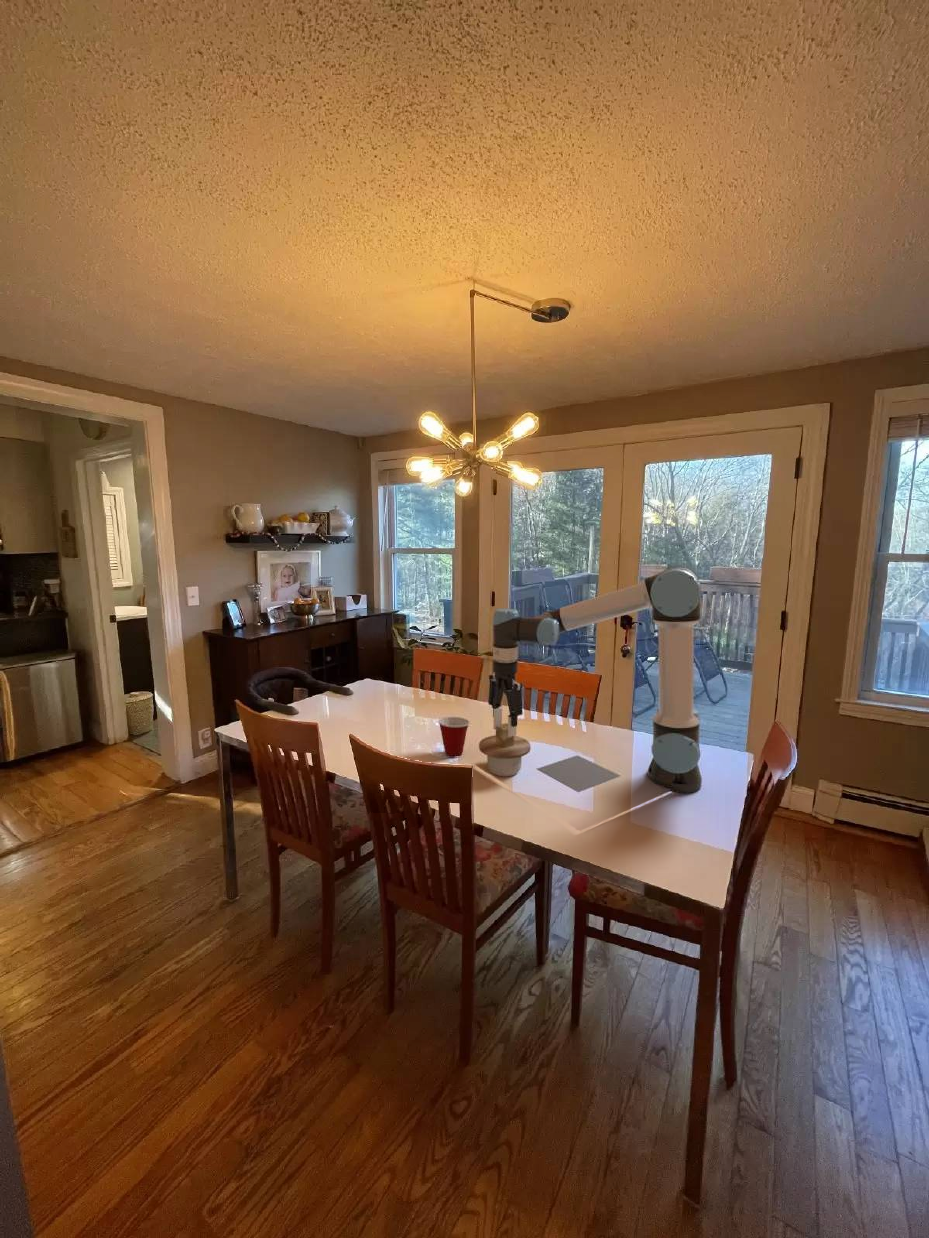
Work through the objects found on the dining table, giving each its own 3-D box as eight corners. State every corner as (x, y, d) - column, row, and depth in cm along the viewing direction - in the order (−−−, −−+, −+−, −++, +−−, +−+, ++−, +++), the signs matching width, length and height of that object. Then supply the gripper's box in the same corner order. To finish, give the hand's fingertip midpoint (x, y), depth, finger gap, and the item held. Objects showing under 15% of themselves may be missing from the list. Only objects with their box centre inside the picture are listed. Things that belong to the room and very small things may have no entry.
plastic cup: (476, 753, 176) (476, 719, 174) (454, 763, 168) (454, 728, 166) (454, 744, 183) (453, 712, 181) (431, 754, 176) (431, 720, 174)
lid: (541, 750, 159) (541, 728, 158) (499, 763, 150) (499, 740, 149) (509, 734, 172) (509, 713, 171) (469, 744, 163) (469, 723, 162)
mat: (620, 778, 157) (620, 775, 157) (578, 795, 147) (578, 791, 147) (577, 758, 172) (577, 755, 172) (536, 771, 162) (536, 768, 162)
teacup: (519, 783, 155) (519, 757, 153) (483, 779, 157) (483, 754, 156) (523, 763, 168) (524, 740, 167) (490, 760, 170) (491, 737, 169)
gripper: (476, 655, 163) (476, 725, 167) (516, 668, 147) (515, 745, 150) (495, 652, 167) (495, 720, 171) (536, 664, 151) (534, 739, 155)
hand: (504, 731), depth 161 cm, fingers open, 7 cm apart
